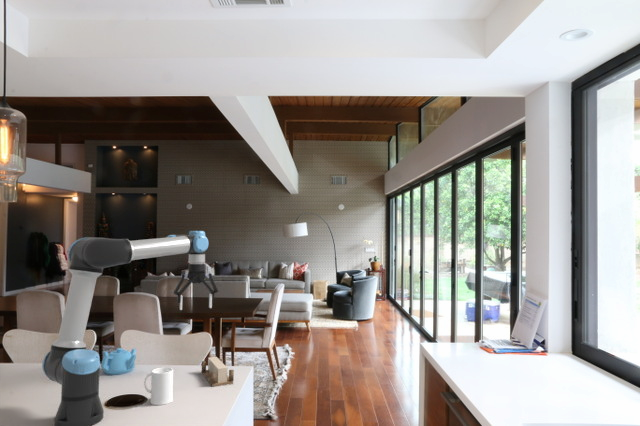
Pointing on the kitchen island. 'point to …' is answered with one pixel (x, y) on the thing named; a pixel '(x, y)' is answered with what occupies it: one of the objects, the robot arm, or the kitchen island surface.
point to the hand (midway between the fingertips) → (195, 308)
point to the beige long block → (217, 369)
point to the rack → (212, 376)
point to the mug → (161, 386)
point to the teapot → (118, 361)
